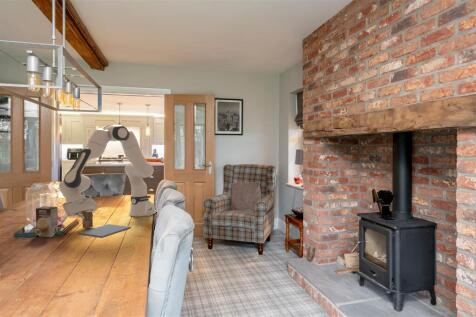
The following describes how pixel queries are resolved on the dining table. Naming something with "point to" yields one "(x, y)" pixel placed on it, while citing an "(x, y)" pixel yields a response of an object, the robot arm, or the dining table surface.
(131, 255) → the dining table surface
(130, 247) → the dining table surface
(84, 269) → the dining table surface
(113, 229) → the mat
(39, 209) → the coffee box
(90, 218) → the walnut block
